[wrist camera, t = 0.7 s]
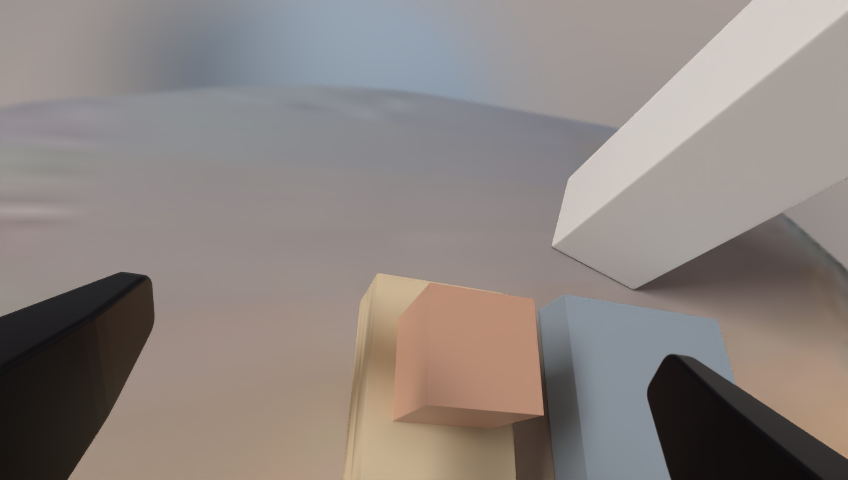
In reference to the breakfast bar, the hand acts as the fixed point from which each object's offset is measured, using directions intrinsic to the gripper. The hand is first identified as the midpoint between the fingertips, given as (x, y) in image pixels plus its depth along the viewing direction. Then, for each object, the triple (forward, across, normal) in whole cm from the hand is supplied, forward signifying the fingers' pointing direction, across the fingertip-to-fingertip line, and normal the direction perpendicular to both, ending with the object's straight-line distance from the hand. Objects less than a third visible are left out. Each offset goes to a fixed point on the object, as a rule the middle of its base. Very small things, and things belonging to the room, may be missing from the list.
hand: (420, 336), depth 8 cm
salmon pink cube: (+8, -3, +8) cm, 11 cm away
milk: (+20, -13, +6) cm, 25 cm away
